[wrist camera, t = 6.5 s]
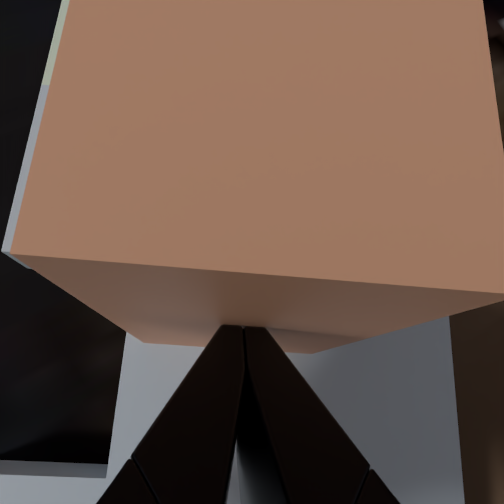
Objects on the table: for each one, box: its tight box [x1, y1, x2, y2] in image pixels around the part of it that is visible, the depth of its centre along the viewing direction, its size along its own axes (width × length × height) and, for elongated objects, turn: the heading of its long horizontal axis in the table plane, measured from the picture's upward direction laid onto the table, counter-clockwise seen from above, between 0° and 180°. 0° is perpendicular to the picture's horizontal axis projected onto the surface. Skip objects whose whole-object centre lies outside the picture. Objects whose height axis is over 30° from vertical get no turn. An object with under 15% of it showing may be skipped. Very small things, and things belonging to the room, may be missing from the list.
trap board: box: [0, 0, 465, 504], centre depth 14 cm, size 30×14×4 cm, turn 177°
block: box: [10, 0, 504, 354], centre depth 10 cm, size 10×5×9 cm, turn 177°
